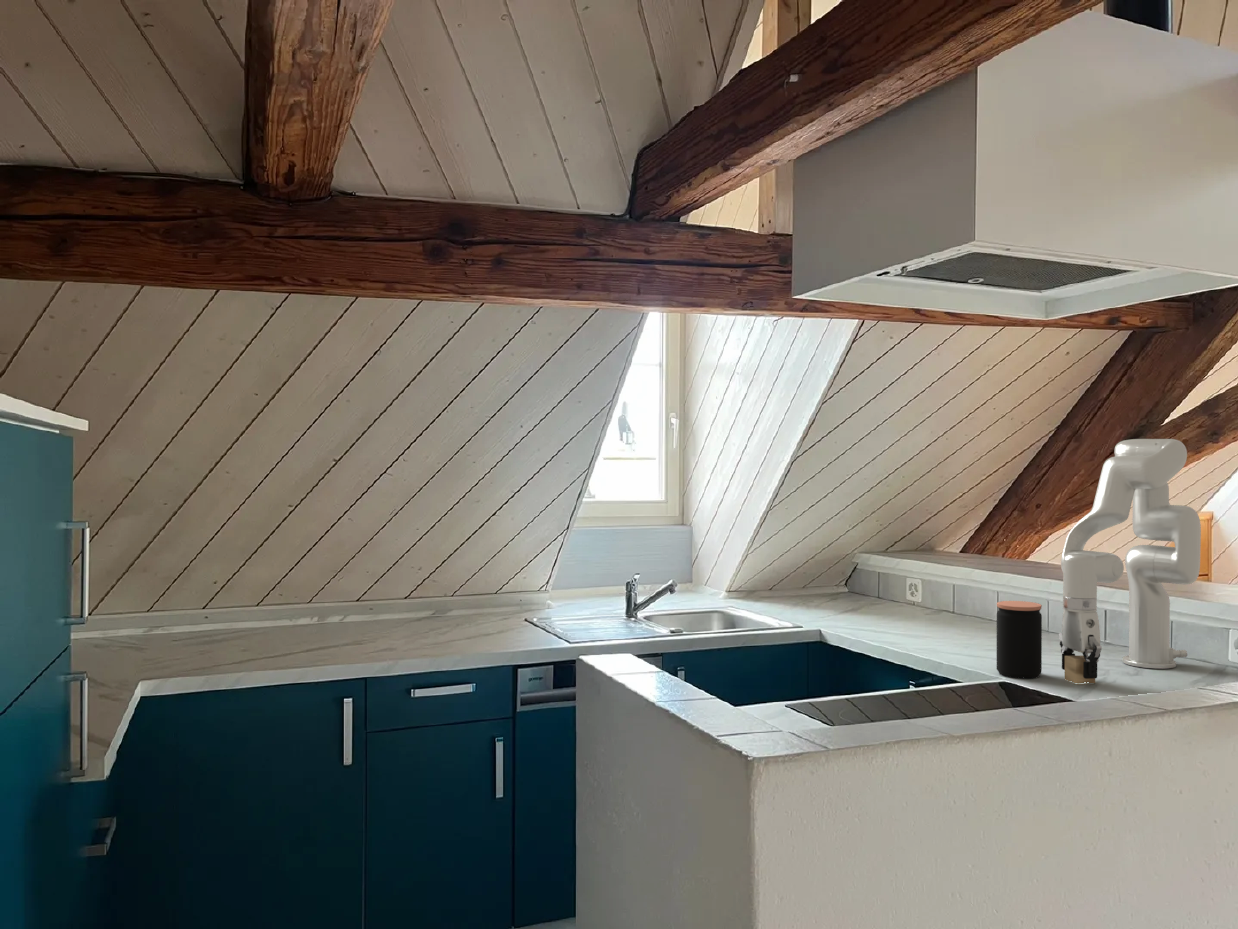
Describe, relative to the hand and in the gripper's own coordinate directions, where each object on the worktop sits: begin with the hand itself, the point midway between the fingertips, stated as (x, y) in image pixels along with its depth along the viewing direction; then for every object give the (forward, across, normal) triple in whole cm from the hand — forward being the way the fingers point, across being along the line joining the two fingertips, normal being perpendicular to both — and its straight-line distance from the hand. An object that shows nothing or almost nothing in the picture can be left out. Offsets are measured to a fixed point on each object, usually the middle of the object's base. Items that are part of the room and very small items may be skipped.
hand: (1079, 673), depth 245 cm
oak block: (+2, 0, 0) cm, 2 cm away
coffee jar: (+2, +9, +11) cm, 14 cm away
